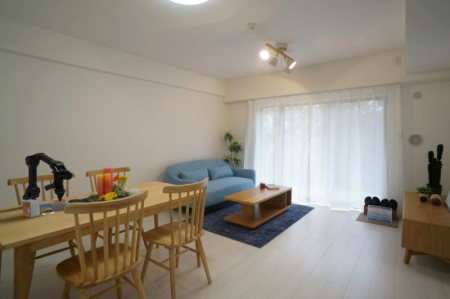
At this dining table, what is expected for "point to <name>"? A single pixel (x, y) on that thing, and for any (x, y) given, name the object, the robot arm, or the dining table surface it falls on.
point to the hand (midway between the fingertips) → (59, 200)
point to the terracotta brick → (56, 202)
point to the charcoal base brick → (58, 207)
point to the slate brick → (45, 205)
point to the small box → (31, 208)
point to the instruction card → (48, 213)
